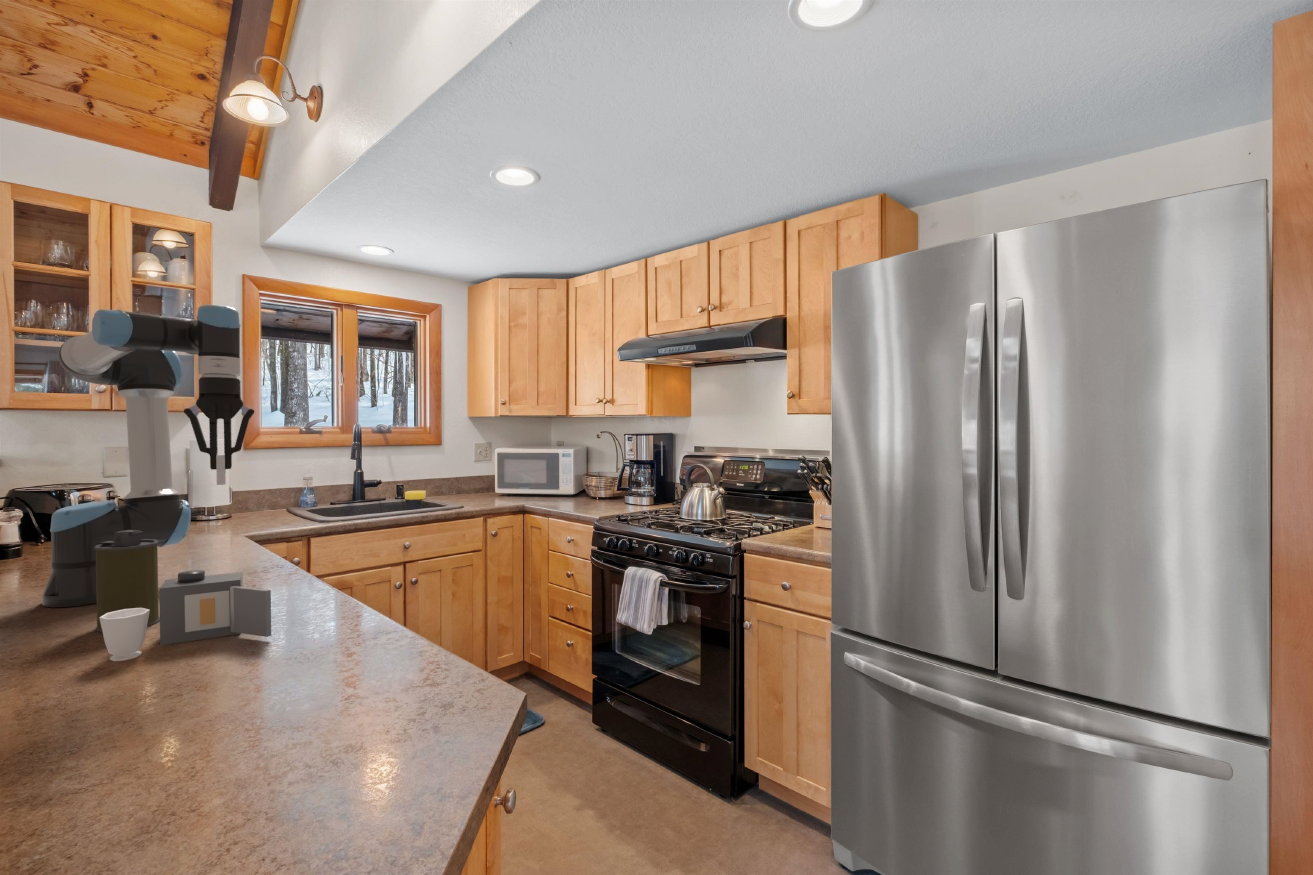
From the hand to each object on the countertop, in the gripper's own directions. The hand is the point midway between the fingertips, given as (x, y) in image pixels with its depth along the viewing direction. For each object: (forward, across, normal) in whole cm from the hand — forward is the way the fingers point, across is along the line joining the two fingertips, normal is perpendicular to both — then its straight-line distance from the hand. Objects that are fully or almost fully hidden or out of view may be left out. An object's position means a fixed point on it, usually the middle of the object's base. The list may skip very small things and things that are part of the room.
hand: (221, 484), depth 137 cm
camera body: (+29, -2, -12) cm, 32 cm away
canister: (+30, -17, +4) cm, 34 cm away
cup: (+30, -14, -18) cm, 37 cm away
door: (+28, +6, -20) cm, 35 cm away
